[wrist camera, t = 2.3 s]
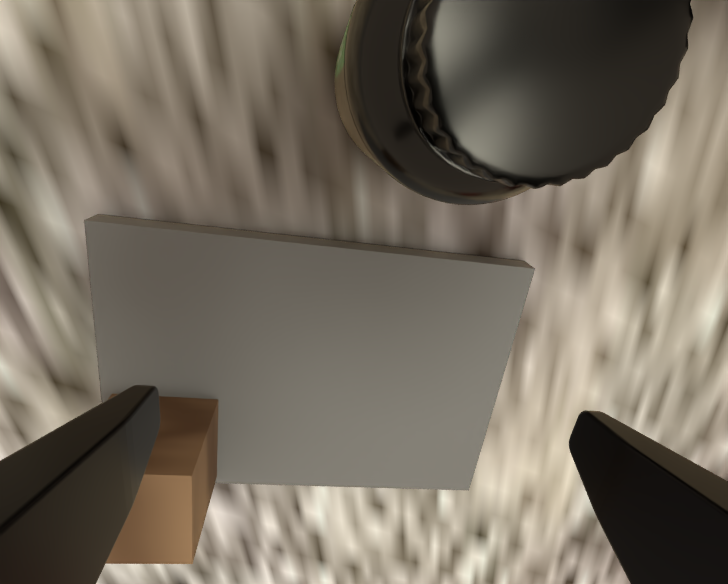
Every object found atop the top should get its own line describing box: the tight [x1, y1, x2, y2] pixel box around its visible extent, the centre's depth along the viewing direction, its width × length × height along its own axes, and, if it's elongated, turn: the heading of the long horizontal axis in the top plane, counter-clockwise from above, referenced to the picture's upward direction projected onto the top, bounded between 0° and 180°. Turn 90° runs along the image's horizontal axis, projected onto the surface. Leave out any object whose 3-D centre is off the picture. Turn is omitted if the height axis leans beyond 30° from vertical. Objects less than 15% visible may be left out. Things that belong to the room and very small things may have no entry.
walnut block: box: [106, 394, 218, 564], centre depth 20 cm, size 5×5×5 cm
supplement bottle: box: [334, 0, 693, 205], centre depth 13 cm, size 7×7×12 cm
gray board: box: [84, 214, 535, 490], centre depth 22 cm, size 20×14×1 cm
